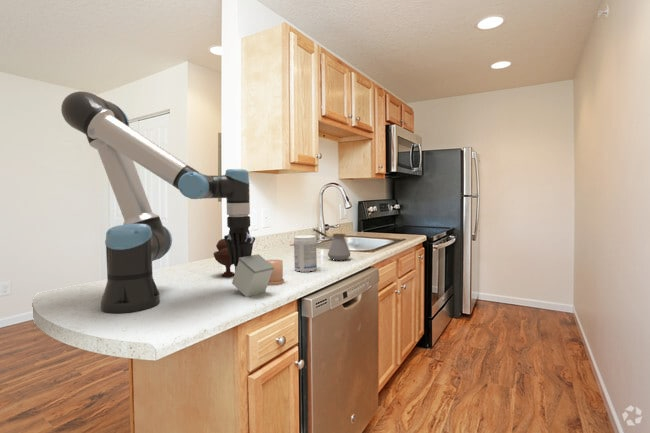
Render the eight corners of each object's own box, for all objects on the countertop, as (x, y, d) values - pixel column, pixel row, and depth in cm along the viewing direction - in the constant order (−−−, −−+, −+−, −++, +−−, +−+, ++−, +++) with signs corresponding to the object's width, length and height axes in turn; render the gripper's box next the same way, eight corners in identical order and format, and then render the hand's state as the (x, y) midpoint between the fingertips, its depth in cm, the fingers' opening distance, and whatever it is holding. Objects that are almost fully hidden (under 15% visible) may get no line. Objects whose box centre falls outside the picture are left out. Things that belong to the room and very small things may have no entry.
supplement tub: (318, 268, 157) (318, 235, 156) (314, 273, 148) (313, 237, 147) (297, 267, 159) (297, 234, 158) (291, 272, 150) (291, 237, 149)
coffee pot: (354, 258, 181) (354, 229, 180) (344, 262, 171) (344, 231, 170) (317, 255, 191) (317, 227, 191) (306, 258, 181) (306, 229, 180)
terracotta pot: (273, 286, 126) (273, 264, 126) (258, 283, 131) (257, 261, 130) (288, 282, 133) (288, 260, 132) (273, 279, 137) (272, 258, 137)
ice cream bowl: (235, 279, 137) (234, 240, 136) (208, 277, 139) (207, 239, 139) (246, 273, 148) (246, 237, 147) (221, 272, 150) (221, 236, 149)
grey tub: (246, 297, 113) (255, 271, 110) (231, 283, 117) (239, 257, 114) (265, 291, 119) (274, 267, 116) (250, 278, 124) (258, 254, 121)
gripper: (260, 215, 119) (262, 285, 120) (234, 214, 126) (236, 280, 128) (243, 217, 113) (245, 290, 114) (217, 215, 120) (219, 284, 122)
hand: (240, 284), depth 121 cm, fingers closed
